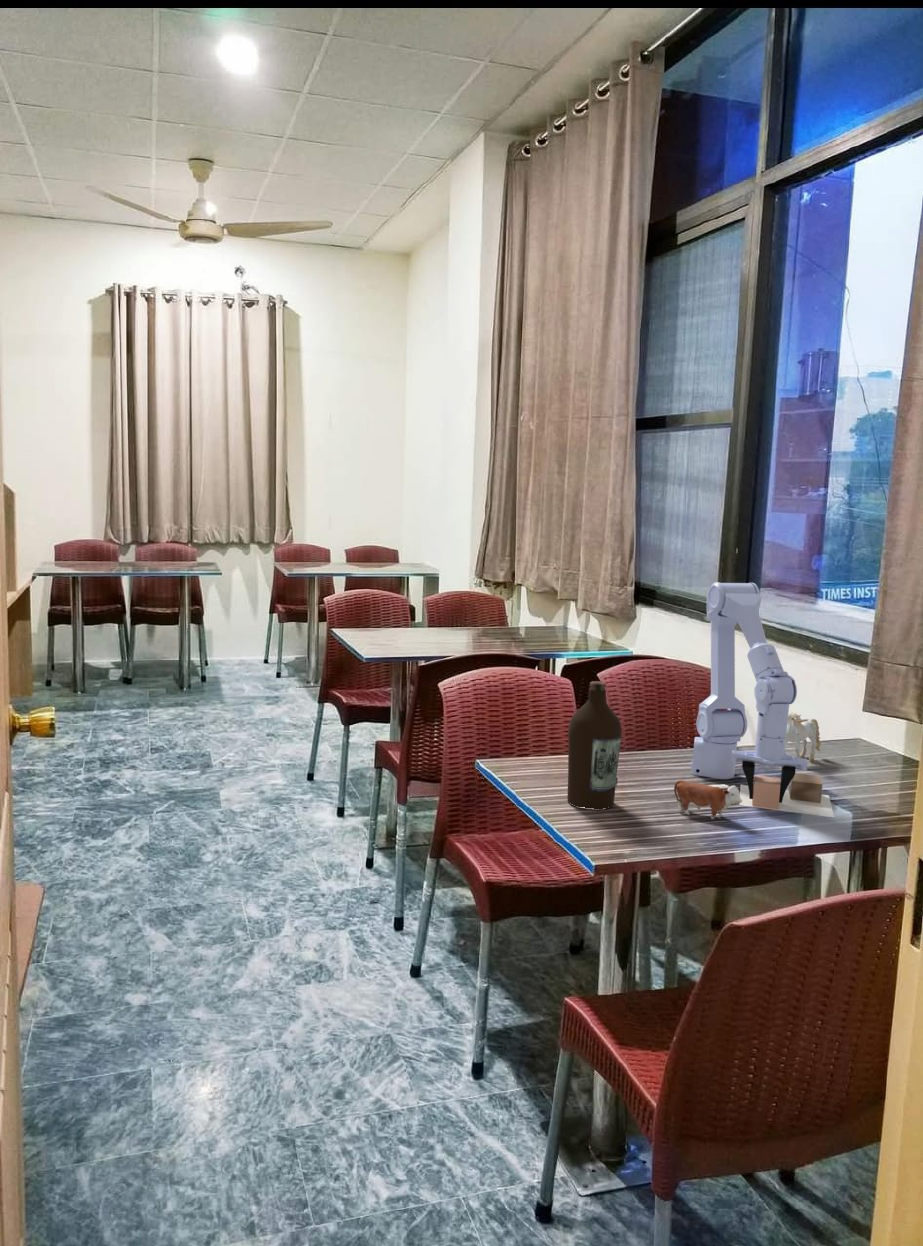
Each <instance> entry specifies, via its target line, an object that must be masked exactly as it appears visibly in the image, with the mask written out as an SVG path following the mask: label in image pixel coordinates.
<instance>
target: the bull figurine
mask: <svg viewBox="0 0 923 1246" xmlns="http://www.w3.org/2000/svg"><path fill="white" fill-rule="evenodd" d="M673 791H674V796H675V798H676V805H677V808H678V809H677V810H678V811H679V812H682V811H684V814H685V815H691V813H690V811H689V805H690V803H692V804H694V805H695V807H696V808H697V810H700V809H701V807H702V808H704V807H705V808H711V816H710V819H712V820H715V817H716V816H717V814H718V817H720V818H722V817H723V811H726V810H727V809H729V808H730V807H731V805H733V804H738V805H739V804H740V803H741V802H742V799H741V798H740V786H736V785H731V786H729V785H727V784H719V785H718V784H711V785H710V784H703V783H697V782H692V781H686V780H678V781H676V783H675V784H674V787H673Z"/></svg>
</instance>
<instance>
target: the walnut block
mask: <svg viewBox="0 0 923 1246" xmlns="http://www.w3.org/2000/svg"><path fill="white" fill-rule="evenodd" d="M823 785H824V784H823V781H822V776H821V775H815V774H808V773H807V774H806V773H797V772H795V775H794V777H793V779H792V780H791V782H790V783H789V785H788V787H789V788H788V791H789V795H790V799H792V800H799V801H807V802H815V803H821V795H823Z"/></svg>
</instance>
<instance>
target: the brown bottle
mask: <svg viewBox="0 0 923 1246" xmlns="http://www.w3.org/2000/svg"><path fill="white" fill-rule="evenodd" d="M606 686H607V683H606V682H605V681H599V680H595V681H594V680H592V681H591V682H589V688H588V699H587V701H586V702H585V703H584V704H583V705H582V706H581V707H580V708H578V709H577V711H575V713H573V715H572V717H571V718H570V720H569V724H568V727H567V728H568V731H567V733H568V734H567V735H568V736H567V737H568V739H567V740H568V742H567V743H568V744H567V745H568V746H567V747H568V749H567V750H568V753H567V754H568V758H567V759H568V762H567V770H568V771H567V802H568V804H569V803H571V804H573V805H575V806H578V807H585V808H594V809H603V808H608V807H611V808H612V807H613V806H614V804H615V795H616V794H615V793H616V787H617V786H618V779H619V778H618V777H617V775H618V766H619V758H620V750H621V741H622V733H623V732H622V729H623V728H622V725H621V721H620V719H619V717H618V715H617V714H616V713H615V712H614V710H612V708H611V707H610V706H609V704H608V703H607V702H606V698H607V697H606V696H607V690H606ZM571 804H570V805H571Z"/></svg>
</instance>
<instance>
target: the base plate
mask: <svg viewBox="0 0 923 1246" xmlns="http://www.w3.org/2000/svg"><path fill="white" fill-rule="evenodd" d="M739 793H740V798H741V799H742V802H741V803H739V804H738V806H743V807H744V806H745V807H750V808H756V809H757V808H759V809H767V810H774V811H780V812H788V813H789V812H790V813H796V814H805V815H811V816H817V817H818V816H820V817H826V818H827V817H828V818H835V816H834V811H833V807H832V803H831V798H830V795H827V794H822V795H821V803H815V802H807V801H799V800H792V799H790V795H789V789H788V790H787V789H786V791H785V794H784V796H783V800H782V803H779V806H778V809H772V808H765V807H757V806H752V799H749V788H748V784H747V785H745V784H740V786H739Z"/></svg>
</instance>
